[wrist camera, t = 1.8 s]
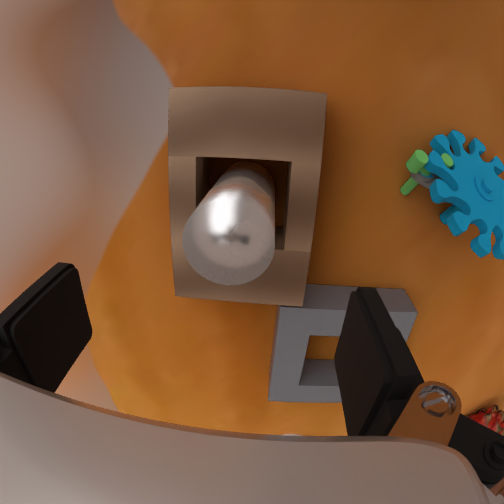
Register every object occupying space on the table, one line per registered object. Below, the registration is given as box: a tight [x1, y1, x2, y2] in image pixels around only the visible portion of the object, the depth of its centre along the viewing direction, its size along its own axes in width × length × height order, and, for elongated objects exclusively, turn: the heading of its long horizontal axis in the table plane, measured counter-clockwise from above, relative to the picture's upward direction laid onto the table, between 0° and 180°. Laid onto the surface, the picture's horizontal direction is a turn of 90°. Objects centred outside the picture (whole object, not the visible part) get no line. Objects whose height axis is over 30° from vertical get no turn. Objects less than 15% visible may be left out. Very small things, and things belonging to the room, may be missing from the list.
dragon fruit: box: [466, 405, 504, 436], centre depth 31 cm, size 8×8×12 cm
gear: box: [400, 130, 504, 259], centre depth 19 cm, size 11×6×10 cm
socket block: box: [268, 284, 418, 403], centre depth 26 cm, size 11×11×4 cm
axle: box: [182, 161, 275, 285], centre depth 18 cm, size 4×4×10 cm
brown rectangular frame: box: [168, 87, 327, 306], centre depth 21 cm, size 14×9×4 cm, turn 177°
